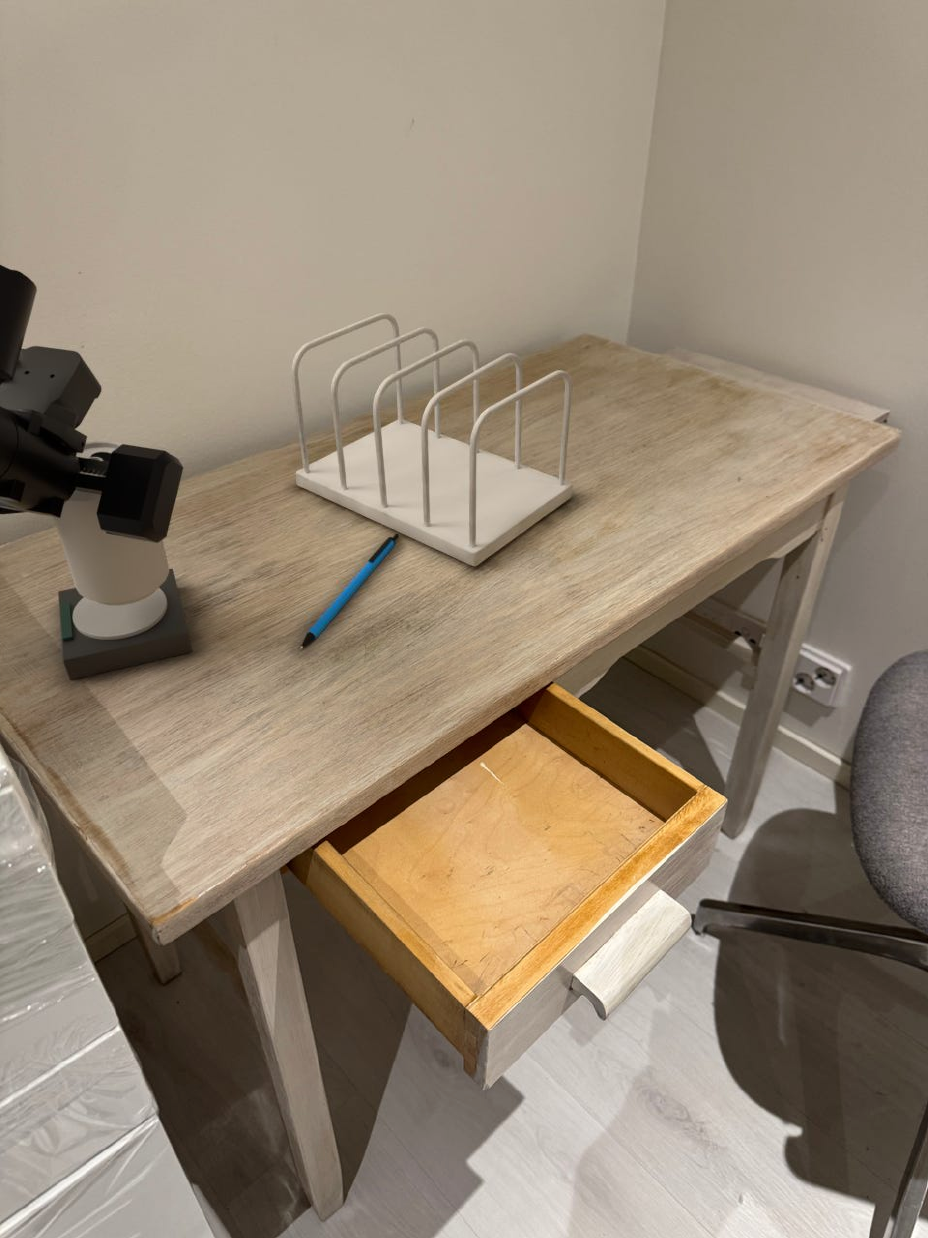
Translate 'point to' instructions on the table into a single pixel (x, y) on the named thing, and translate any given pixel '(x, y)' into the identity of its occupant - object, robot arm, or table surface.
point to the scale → (121, 631)
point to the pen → (349, 590)
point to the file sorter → (434, 461)
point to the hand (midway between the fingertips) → (116, 508)
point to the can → (107, 547)
